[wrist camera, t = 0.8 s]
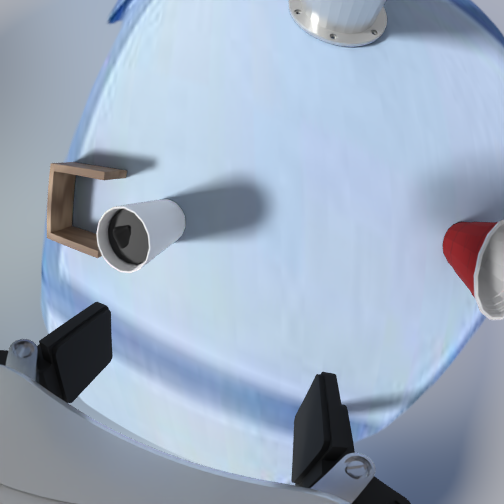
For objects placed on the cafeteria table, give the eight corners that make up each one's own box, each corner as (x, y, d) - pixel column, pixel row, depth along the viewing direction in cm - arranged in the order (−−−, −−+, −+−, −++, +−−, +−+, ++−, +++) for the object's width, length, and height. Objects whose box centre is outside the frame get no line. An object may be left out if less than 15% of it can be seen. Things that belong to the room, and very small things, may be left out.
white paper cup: (149, 249, 35) (106, 275, 26) (138, 201, 34) (90, 214, 24) (194, 242, 34) (158, 269, 25) (183, 190, 32) (141, 199, 23)
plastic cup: (486, 200, 26) (543, 216, 15) (481, 275, 29) (528, 310, 18) (426, 201, 28) (482, 219, 17) (423, 284, 31) (467, 329, 20)
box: (73, 162, 33) (50, 163, 29) (127, 170, 33) (104, 171, 28) (68, 230, 37) (46, 237, 32) (118, 247, 36) (97, 258, 31)
